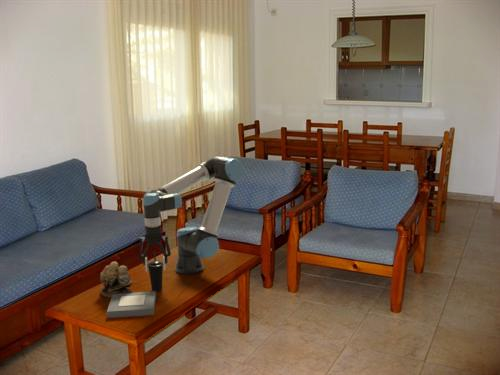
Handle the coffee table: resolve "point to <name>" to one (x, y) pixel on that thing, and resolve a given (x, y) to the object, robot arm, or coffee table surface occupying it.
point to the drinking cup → (156, 274)
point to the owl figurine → (115, 280)
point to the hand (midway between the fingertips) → (155, 270)
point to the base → (132, 304)
